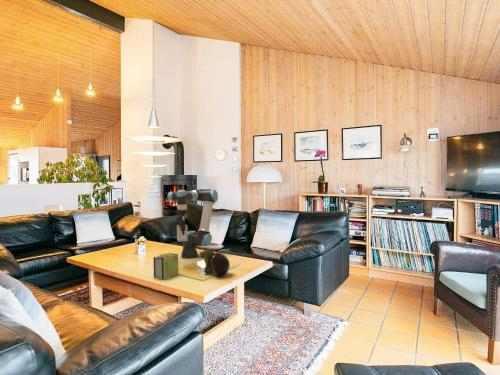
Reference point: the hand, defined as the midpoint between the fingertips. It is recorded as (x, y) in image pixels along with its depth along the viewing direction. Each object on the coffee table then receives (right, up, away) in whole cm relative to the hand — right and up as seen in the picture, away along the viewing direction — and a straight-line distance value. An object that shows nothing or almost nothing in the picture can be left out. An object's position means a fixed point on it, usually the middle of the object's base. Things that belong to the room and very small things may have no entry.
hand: (182, 237), depth 250 cm
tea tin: (0, -2, 0) cm, 2 cm away
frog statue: (+28, -25, -16) cm, 41 cm away
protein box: (-8, -26, -19) cm, 33 cm away
